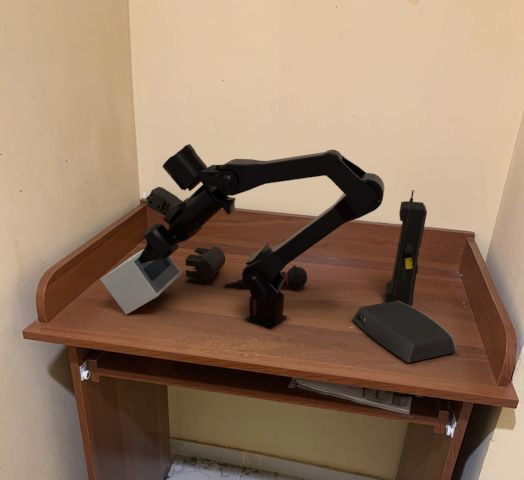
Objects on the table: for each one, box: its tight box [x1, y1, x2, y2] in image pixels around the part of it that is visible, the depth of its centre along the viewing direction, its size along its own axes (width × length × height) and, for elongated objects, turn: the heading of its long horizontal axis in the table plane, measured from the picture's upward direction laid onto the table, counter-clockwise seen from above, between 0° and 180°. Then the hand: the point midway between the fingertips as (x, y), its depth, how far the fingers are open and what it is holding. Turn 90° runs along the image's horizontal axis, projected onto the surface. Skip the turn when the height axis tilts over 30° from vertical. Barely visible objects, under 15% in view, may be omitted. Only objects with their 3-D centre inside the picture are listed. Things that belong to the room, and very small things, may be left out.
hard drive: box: [352, 301, 457, 363], centre depth 106 cm, size 13×19×4 cm
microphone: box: [224, 265, 308, 291], centre depth 125 cm, size 6×6×20 cm
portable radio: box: [384, 189, 428, 307], centre depth 116 cm, size 8×6×25 cm
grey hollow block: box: [99, 248, 182, 316], centre depth 113 cm, size 9×14×9 cm
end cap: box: [185, 245, 226, 285], centre depth 129 cm, size 10×7×7 cm
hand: (149, 254), depth 110 cm, fingers open, 9 cm apart
